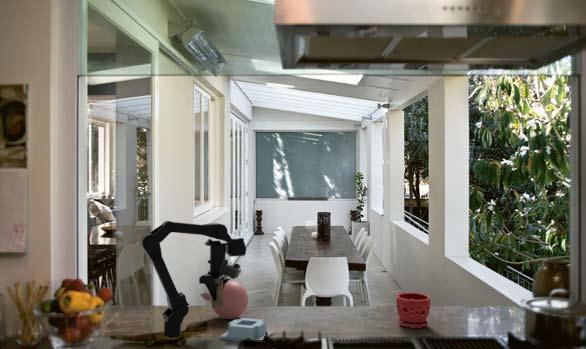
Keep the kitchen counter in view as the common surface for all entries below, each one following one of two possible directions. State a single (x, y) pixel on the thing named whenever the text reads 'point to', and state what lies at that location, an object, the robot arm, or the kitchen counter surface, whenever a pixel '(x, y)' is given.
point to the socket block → (245, 330)
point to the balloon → (231, 300)
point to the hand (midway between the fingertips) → (217, 299)
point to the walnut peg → (218, 297)
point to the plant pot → (413, 309)
